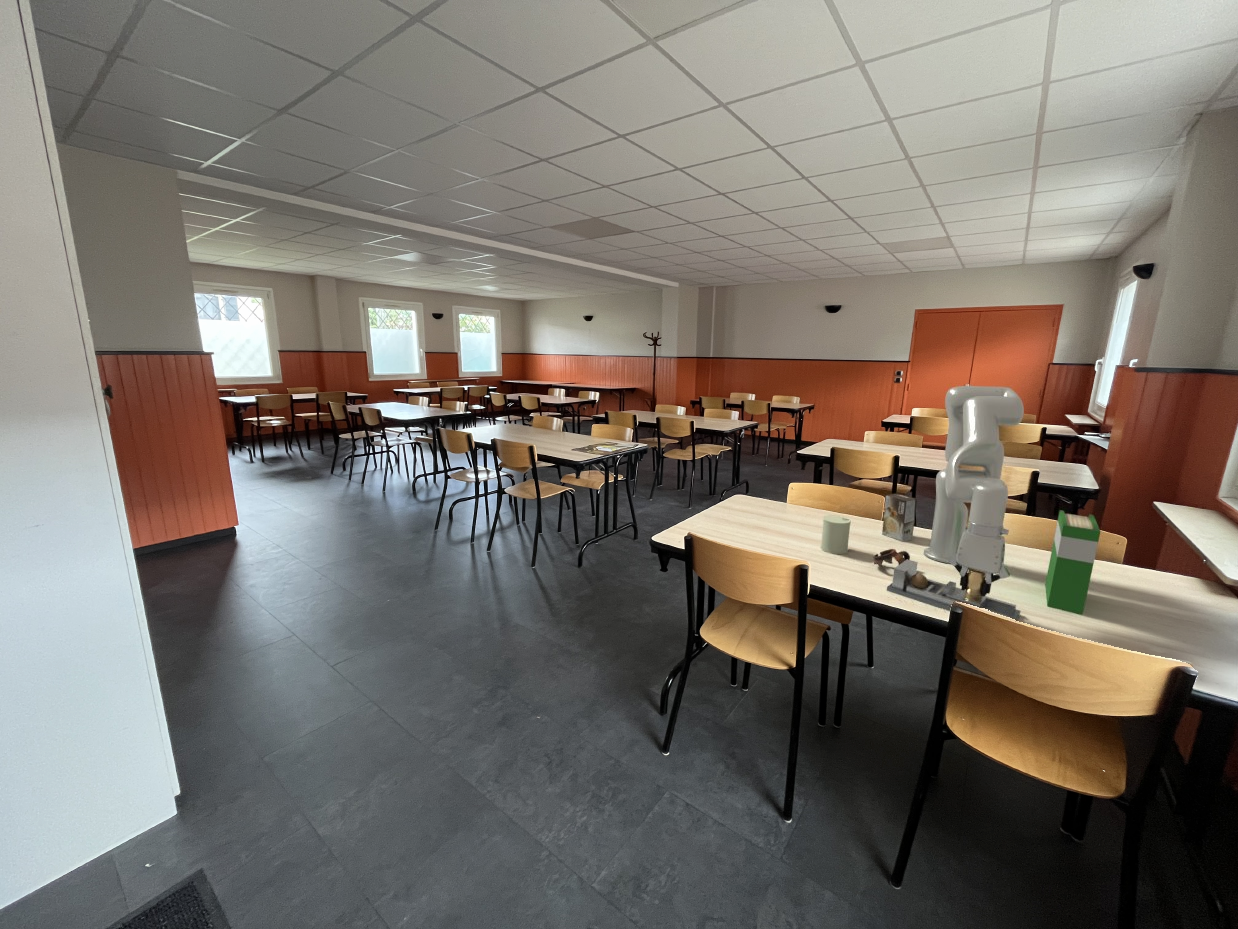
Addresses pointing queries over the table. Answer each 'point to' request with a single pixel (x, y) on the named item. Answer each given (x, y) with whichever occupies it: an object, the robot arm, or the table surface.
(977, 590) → the jaw carriage
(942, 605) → the base
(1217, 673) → the table surface
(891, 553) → the rusty shackles
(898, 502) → the coffee box
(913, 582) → the walnut
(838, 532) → the can
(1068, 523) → the hardback book
